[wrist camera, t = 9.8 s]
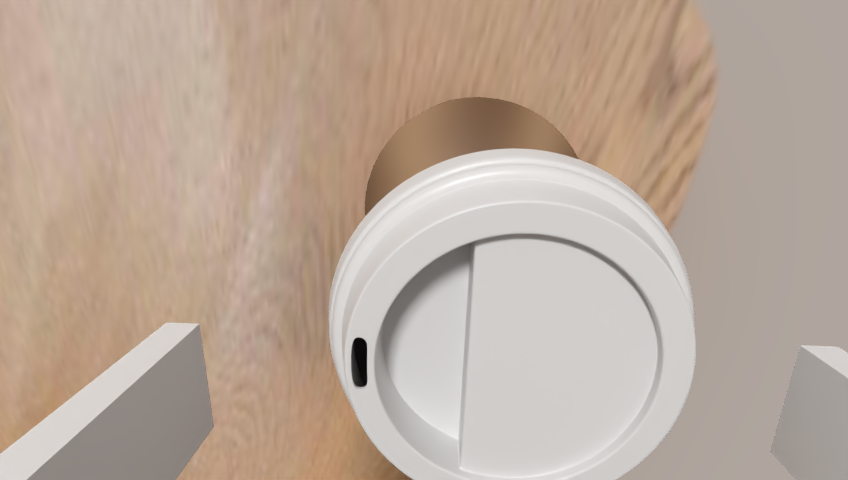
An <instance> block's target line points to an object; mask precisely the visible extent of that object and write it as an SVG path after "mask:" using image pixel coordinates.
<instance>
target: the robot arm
mask: <svg viewBox="0 0 848 480" xmlns="http://www.w3.org/2000/svg"><path fill="white" fill-rule="evenodd" d="M213 427H214V423H213V416H212V409H211V402H210V395H209V388H208V381H207V374H206V367H205V360H204V353H203V346H202V339H201V332H200V325H199V324H189V323H165V324H164V325H163V326H161V327H160V328H159V329H158V330H156V331H155V332H154V333H153V334H151V335H150V336H149V337H148V338H146V339H145V340H144V341H142V342H141V343H140V344H139V345H137V346H136V347H135V348H134V349H132V350H131V351H130V352H129V353H127V354H126V355H125V356H123V357H122V358H121V359H120V360H118V361H117V362H116V363H115V364H113V365H112V366H111V367H110V368H108V369H107V370H106V371H105V372H103V373H102V374H101V375H99V376H98V377H97V378H96V379H94V380H93V381H92V382H91V383H89V384H88V385H87V386H86V387H84V388H83V389H82V390H80V391H79V392H78V393H77V394H75V395H74V396H73V397H72V398H70V399H69V400H68V401H67V402H65V403H64V404H63V405H61V406H60V407H59V408H58V409H56V410H55V411H54V412H53V413H51V414H50V415H49V416H48V417H46V418H45V419H44V420H43V421H41V422H40V423H39V424H37V425H36V426H35V427H34V428H32V429H31V430H30V431H29V432H27V433H26V434H25V435H24V436H22V437H21V438H20V439H18V440H17V441H16V442H15V443H13V444H12V445H11V446H10V447H8V448H7V449H6V450H5V451H3V452H2V453H1V454H0V480H176V479H177V477H178V476H179V474H180V473H181V472H182V470H183V469H184V467H185V466H186V465H187V463H188V462H189V461H190V459H191V458H192V456H193V455H194V454H195V452H196V451H197V449H198V448H199V447H200V445H201V444H202V442H203V441H204V440H205V438H206V437H207V435H208V434H209V433H210V431H211V430H212V428H213ZM771 453H772V454H773V455H774V456H775V457H776V458H777V459H778V461H779V462H780V463H781V464H782V465H783V466H784V467H785V468H786V469H787V470H788V471H789V472H790V474H792V476H793V477H794V478H795V479H796V480H848V353H847V352H845V351H844V350H842V349H840V348H839V347H827V346H802V345H801V346H800V349H799V352H798V356H797V359H796V363H795V366H794V370H793V373H792V377H791V380H790V384H789V388H788V391H787V395H786V398H785V402H784V405H783V409H782V412H781V416H780V419H779V423H778V426H777V430H776V434H775V437H774V440H773V444H772V447H771Z"/></svg>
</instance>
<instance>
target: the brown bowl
mask: <svg viewBox="0 0 848 480" xmlns="http://www.w3.org/2000/svg"><path fill="white" fill-rule="evenodd" d="M511 148H515V149H534V150H542V151H548V152H553V153H558V154H562V155H566V156H569V157H573V158H576V159H578V157H577V156H576V154H575V152H574V150H573V148H572V147H571V145H570V144H569V143H568V141H567V140H566V139H565V137H564V136H563V135H562V134H561V133H560V132H559V131H558V130H557V129H556V128H555V127H554V126H553V125H552V124H551V123H549V122H548V121H547V120H546V119H544V118H543V117H542V116H540V115H538V114H537V113H535V112H533V111H531V110H529V109H528V108H525V107H523V106H520V105H518V104H515V103H512V102H508V101H504V100H500V99H492V98H481V97H474V98H461V99H455V100H450V101H447V102H444V103H441V104H438V105H436V106H434V107H432V108H430V109H428V110H426V111H424V112H422V113H420V114H419V115H417V116H416V117H414V118H413V119H411V120H410V121H408V122H407V123H406V124H405V125H404V126H403V127H401V128H400V129H399V130H398V131H397V132H396V133H395V134H394V135H393V137H392V138H391V139H390V140H389V141H388V142H387V144H386V145H385V147H384V148H383V150H382V151H381V153H380V154H379V156H378V158H377V160H376V162H375V164H374V166H373V169H372V172H371V175H370V178H369V181H368V186H367V191H366V200H365V216H366V215H367V214H368V213H369V212H370V211H371V210H372V208H373V207H374V206H375V205H376V204H377V203H378V202H379V201H380V200H381V199H383V198H384V197H385V196H386V195H387V194H388V193H389V192H391V191H392V190H393V189H395V188H396V187H397V186H399V185H400V184H401V183H403V182H404V181H406V180H407V179H409V178H411V177H412V176H414V175H416V174H417V173H419V172H421V171H423V170H425V169H427V168H429V167H431V166H433V165H436V164H438V163H441V162H443V161H446V160H449V159H451V158H455V157H458V156H461V155H465V154H469V153H474V152H479V151H486V150H494V149H511Z"/></svg>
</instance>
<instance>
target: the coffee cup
mask: <svg viewBox="0 0 848 480" xmlns="http://www.w3.org/2000/svg"><path fill="white" fill-rule="evenodd" d="M329 336H330V345H331V352H332V357H333V361H334V365H335V368H336V371H337V374H338V377H339V380H340V383H341V385H342V388H343V390H344V392H345V394H346V397H347V398H348V400H349V402H350V404H351V406H352V408H353V409H354V411H355V414H356V416H357V418H358V420H359V422H360V424H361V426H362V427H363V429H364V431H365V432H366V434H367V436H368V437H369V438H370V440H371V441H372V443H373V444H374V445H375V446H376V448H377V449H378V450H379V451H380V452H381V453H382V454H383V455H384V456H385V457H386V458H387V459H388V460H389V461H390V462H391V463H392V464H393V465H394V466H395V467H396V468H398V469H399V470H400V471H401V472H403V473H404V474H405V475H407V476H408V477H410V478H411V479H413V480H617V479H619V478H620V477H622V476H623V475H625V474H626V473H628V472H629V471H630V470H632V469H633V468H634V467H636V466H637V465H638V464H639V463H641V462H642V461H643V460H644V459H645V458H646V457H647V456H648V455H649V454H650V453H651V452H652V451H653V450H654V449H655V448H656V447H657V446H658V445H659V443H660V442H661V441H662V440H663V439H664V437H665V436H666V435H667V433H668V432H669V430H670V429H671V428H672V426H673V425H674V423H675V421H676V420H677V418H678V416H679V414H680V412H681V410H682V408H683V406H684V403H685V401H686V399H687V396H688V393H689V390H690V387H691V383H692V379H693V373H694V367H695V357H696V340H695V330H694V306H693V299H692V293H691V288H690V283H689V279H688V275H687V272H686V269H685V266H684V263H683V260H682V258H681V256H680V253H679V252H678V249H677V247H676V245H675V244H674V242H673V240H672V238H671V237H670V235H669V233H668V231H667V230H666V228H665V226H664V225H663V223H662V222H661V220H660V219H659V218H658V216H657V215H656V214H655V212H654V211H653V210H652V209H651V208H650V207H649V205H648V204H647V203H646V202H645V201H644V200H643V199H642V198H641V197H640V196H639V195H638V194H636V193H635V192H634V191H633V190H632V189H631V188H629V187H628V186H627V185H625V184H624V183H623V182H621V181H620V180H618V179H617V178H615V177H614V176H612V175H611V174H609V173H607V172H605V171H603V170H602V169H600V168H598V167H596V166H593V165H591V164H589V163H586V162H584V161H581V160H579V159H576V158H573V157H569V156H566V155H562V154H558V153H553V152H548V151H542V150H534V149H515V148H511V149H494V150H486V151H479V152H474V153H469V154H465V155H461V156H458V157H455V158H451V159H449V160H446V161H443V162H441V163H438V164H436V165H433V166H431V167H429V168H427V169H425V170H423V171H421V172H419V173H417V174H416V175H414V176H412V177H411V178H409V179H407V180H406V181H404V182H403V183H401V184H400V185H399V186H397V187H396V188H395V189H393V190H392V191H391V192H389V193H388V194H387V195H386V196H385V197H384V198H383V199H381V200H380V201H379V202H378V203H377V204H376V205H375V206H374V207H373V208H372V210H371V211H370V212H369V213H368V214H367V215H366V216H365V218H364V219H363V220H362V221H361V223H360V224H359V225H358V227H357V228H356V230H355V231H354V233H353V234H352V236H351V238H350V239H349V241H348V243H347V245H346V247H345V249H344V251H343V253H342V255H341V258H340V260H339V263H338V265H337V268H336V271H335V275H334V278H333V282H332V287H331V293H330V300H329Z"/></svg>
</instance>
